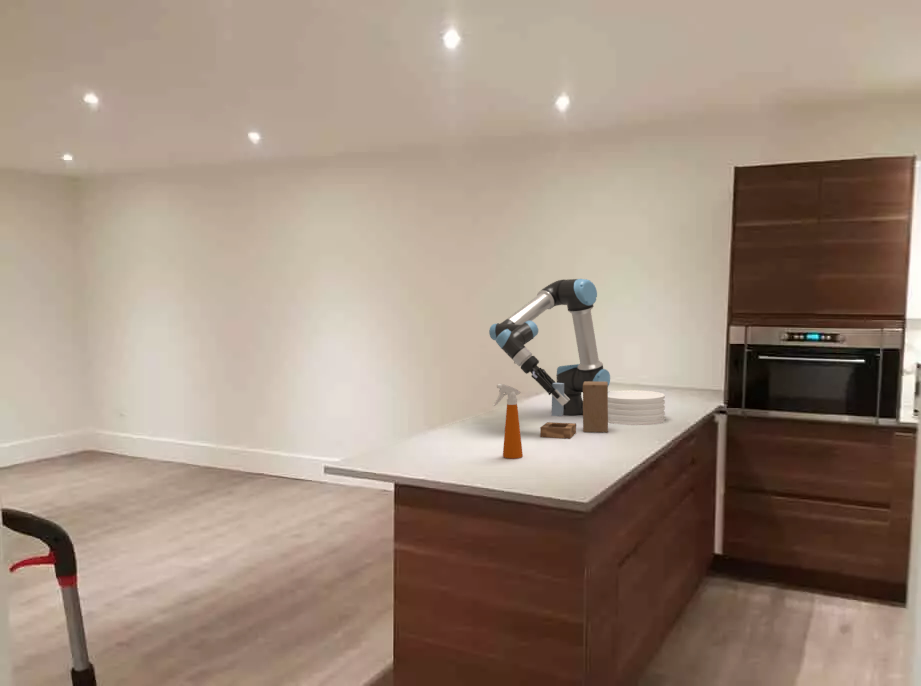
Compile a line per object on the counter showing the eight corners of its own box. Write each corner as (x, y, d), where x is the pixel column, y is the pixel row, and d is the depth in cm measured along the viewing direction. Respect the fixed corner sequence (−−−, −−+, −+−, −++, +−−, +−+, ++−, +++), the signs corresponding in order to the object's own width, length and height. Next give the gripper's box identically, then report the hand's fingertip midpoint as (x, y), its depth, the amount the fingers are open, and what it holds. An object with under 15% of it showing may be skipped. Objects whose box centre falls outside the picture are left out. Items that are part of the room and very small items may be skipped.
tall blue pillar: (553, 414, 306) (554, 382, 305) (563, 414, 304) (564, 383, 303) (551, 415, 302) (552, 383, 301) (561, 416, 301) (562, 384, 300)
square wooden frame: (547, 431, 312) (547, 422, 312) (576, 433, 308) (576, 423, 307) (540, 437, 301) (540, 427, 300) (569, 438, 297) (569, 428, 296)
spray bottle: (490, 456, 267) (488, 383, 266) (517, 453, 271) (516, 381, 269) (498, 460, 261) (496, 385, 259) (526, 457, 265) (525, 383, 263)
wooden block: (607, 432, 307) (607, 384, 306) (583, 432, 309) (582, 384, 308) (608, 428, 317) (607, 381, 316) (584, 427, 319) (583, 381, 318)
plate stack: (677, 422, 330) (677, 396, 329) (623, 427, 319) (623, 400, 319) (640, 412, 356) (640, 388, 355) (589, 417, 345) (589, 392, 345)
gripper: (525, 365, 315) (564, 405, 311) (514, 369, 299) (555, 412, 295) (537, 353, 313) (577, 393, 308) (527, 356, 297) (568, 399, 292)
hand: (566, 402), depth 302 cm, fingers closed on tall blue pillar, 4 cm apart
